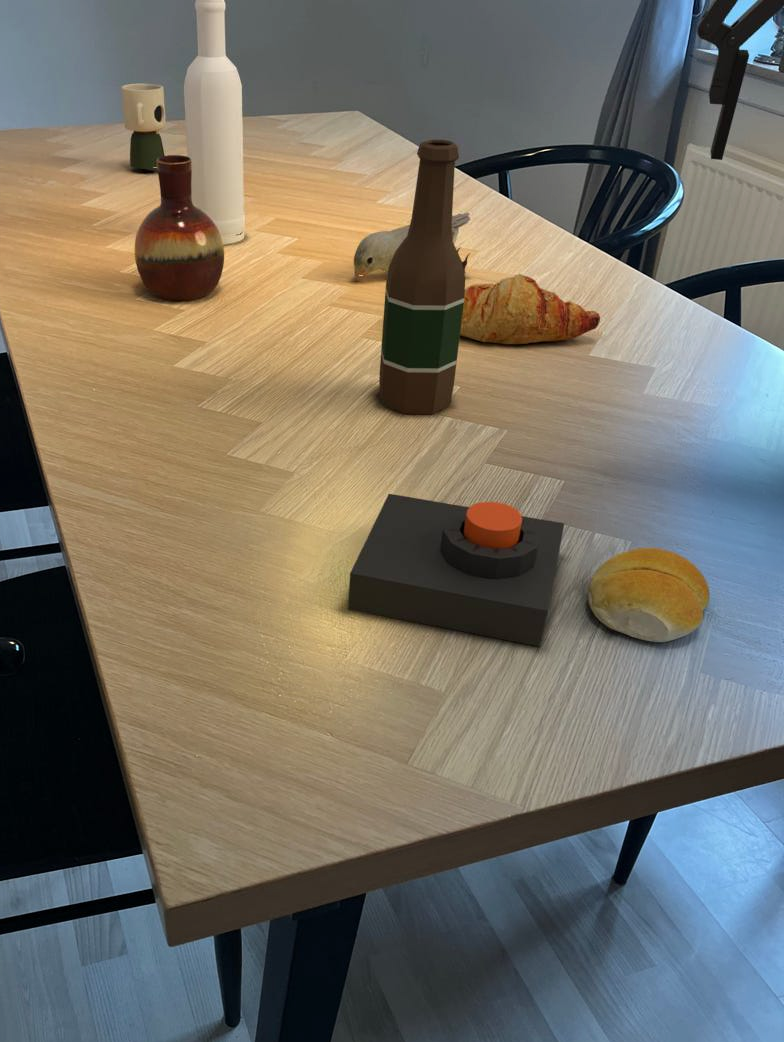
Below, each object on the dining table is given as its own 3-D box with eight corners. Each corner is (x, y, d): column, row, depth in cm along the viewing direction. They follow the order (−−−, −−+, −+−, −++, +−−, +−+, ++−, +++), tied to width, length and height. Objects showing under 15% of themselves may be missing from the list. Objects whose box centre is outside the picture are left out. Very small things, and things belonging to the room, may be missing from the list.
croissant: (409, 360, 117) (410, 312, 110) (420, 296, 121) (421, 245, 113) (591, 374, 113) (604, 325, 106) (596, 307, 117) (609, 256, 110)
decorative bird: (346, 275, 130) (348, 216, 126) (454, 265, 135) (461, 207, 130) (361, 288, 126) (364, 228, 122) (472, 277, 131) (479, 218, 126)
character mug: (163, 178, 169) (157, 93, 161) (122, 176, 169) (114, 91, 161) (173, 163, 177) (168, 82, 169) (134, 162, 178) (127, 80, 170)
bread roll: (710, 592, 74) (726, 548, 72) (688, 658, 68) (704, 612, 65) (602, 562, 77) (613, 519, 75) (572, 623, 71) (583, 577, 68)
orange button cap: (521, 527, 72) (525, 506, 71) (514, 555, 69) (518, 534, 68) (468, 517, 73) (471, 497, 72) (459, 545, 70) (461, 524, 69)
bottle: (250, 231, 145) (247, -10, 127) (238, 247, 139) (233, -4, 121) (198, 227, 146) (187, -13, 128) (184, 243, 140) (170, -7, 122)
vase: (141, 308, 119) (129, 171, 110) (134, 278, 128) (123, 149, 118) (231, 303, 121) (227, 168, 112) (218, 274, 130) (214, 147, 120)
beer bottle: (399, 421, 96) (422, 155, 81) (363, 390, 102) (379, 136, 87) (466, 409, 99) (501, 149, 84) (428, 379, 104) (454, 130, 89)
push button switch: (557, 557, 78) (569, 502, 75) (539, 647, 69) (552, 589, 66) (385, 527, 81) (390, 473, 78) (347, 609, 72) (351, 551, 69)
